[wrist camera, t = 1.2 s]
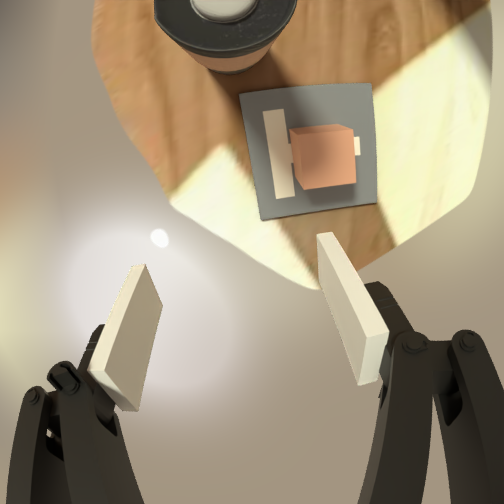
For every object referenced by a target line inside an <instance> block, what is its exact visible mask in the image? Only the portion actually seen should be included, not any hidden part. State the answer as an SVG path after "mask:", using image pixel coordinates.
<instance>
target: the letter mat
mask: <svg viewBox="0 0 504 504" xmlns="http://www.w3.org/2000/svg"><path fill="white" fill-rule="evenodd" d="M239 98H240V104H241V109H242V115H243V120H244V126H245V132H246V137H247V143H248V149H249V154H250V160H251V166H252V172H253V177H254V183H255V189H256V195H257V201H258V207H259V213H260V219H261V220H264V219H270V218H276V217H282V216H288V215H294V214H301V213H307V212H313V211H320V210H326V209H333V208H340V207H347V206H353V205H360V204H368V203H375V202H377V156H376V134H375V119H374V107H373V96H372V87H371V83H345V84H323V85H308V86H297V87H287V88H278V89H270V90H262V91H255V92H249V93H242V94H239ZM331 124H339V125H342V126H345V127H348V128H350V129H353V134H354V148H355V166H356V183H351V184H343V185H335V186H328V187H321V188H314V189H307V190H304V189H303V188H302V186H301V185H300V183H299V182H298V180H297V179H296V177H295V171H294V163H293V155H292V147H291V140H290V133H289V129H293V128H301V127H310V126H320V125H331Z"/></svg>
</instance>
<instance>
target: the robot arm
mask: <svg viewBox="0 0 504 504" xmlns="http://www.w3.org/2000/svg"><path fill="white" fill-rule="evenodd" d="M317 251H318V270H319V282H320V285H321V287H322V290H323V292H324V295H325V297H326V300H327V303H328V305H329V308H330V310H331V313H332V316H333V318H334V321H335V323H336V326H337V329H338V332H339V334H340V337H341V340H342V342H343V345H344V348H345V351H346V353H347V356H348V359H349V362H350V365H351V368H352V370H353V373H354V376H355V379H356V382H357V385H358V386H360V385H364V384H367V383H370V382H374V381H377V379H378V376H379V373H380V375H381V377H382V380H383V385H382V388H381V391H380V394H379V397H378V398H380V403H379V410H378V416H377V422H376V428H375V433H374V438H373V443H372V448H371V453H370V457H369V462H368V466H367V470H366V475H365V479H364V482H363V486H362V490H361V493H360V497H359V500H358V504H421V502H422V497H423V492H424V486H425V480H426V473H427V466H428V458H429V449H430V438H431V424H432V399H433V398H434V402H435V406H436V411H437V415H438V419H439V424H440V429H441V434H442V440H443V445H444V451H445V458H446V463H447V471H448V479H449V488H450V499H451V504H504V390H503V387H502V385H501V382H500V380H499V377H498V374H497V372H496V369H495V367H494V364H493V362H492V360H491V357H490V355H489V353H488V351H487V348H486V346H485V344H484V342H483V340H482V338H481V337H480V336H479V335H478V334H477V333H475V332H474V331H471V330H460V331H458V332H457V333H455V335H454V336H453V338H452V340H450V341H430V340H428V338H427V337H426V336H425V335H423V334H421V333H419V332H415V331H414V329H413V328H412V326H411V325H410V323H409V321H408V320H407V318H406V316H405V315H404V313H403V311H402V310H401V308H400V307H399V305H398V303H397V302H396V300H395V299H394V298H393V295H392V294H391V292H390V291H389V289H388V288H387V287H386V286H384V285H383V284H381V283H380V282H379V281H377V282H373V283H368V284H363V283H362V281H361V279H360V277H359V276H358V274H357V272H356V271H355V269H354V267H353V265H352V264H351V262H350V260H349V259H348V257H347V255H346V254H345V252H344V250H343V249H342V247H341V246H340V244H339V242H338V241H337V239H336V237H335V236H334V234H333V233H332V232H327V233H321V234H317ZM162 307H163V305H162V302H161V300H160V298H159V296H158V293H157V291H156V289H155V286H154V284H153V282H152V279H151V276H150V274H149V272H148V269H147V267H146V264H141V265H135V266H132V267H131V269H130V271H129V274H128V276H127V277H126V280H125V282H124V284H123V286H122V288H121V290H120V292H119V295H118V297H117V299H116V301H115V303H114V306H113V308H112V310H111V312H110V315H109V317H108V319H107V322H106V324H102V325H99V326H98V327H97V328H96V330H95V331H94V332H93V333H92V335H91V338H90V340H89V344H88V345H87V347H86V351H85V352H84V354H83V357H82V359H81V362H80V364H79V367H78V369H76V368H75V367H74V366H73V364H72V363H71V362H69V361H62V362H59V363H58V364H55V365H54V366H53V367H52V368H51V369H50V371H49V373H48V375H47V380H48V381H49V382H50V383H51V384H52V385H53V387H55V389H56V391H52V392H48V393H47V392H46V391H45V390H44V389H43V388H42V387H41V386H35V387H32V388H31V389H29V390H28V391H27V392H26V394H25V396H24V398H23V402H22V405H21V409H20V413H19V418H18V422H17V427H16V431H15V436H14V442H13V447H12V453H11V460H10V468H9V475H8V485H7V497H6V504H144V501H143V499H142V496H141V493H140V490H139V488H138V485H137V482H136V479H135V476H134V473H133V470H132V467H131V463H130V460H129V457H128V453H127V450H126V446H125V442H124V439H123V435H122V431H121V427H120V423H119V419H118V416H117V414H116V413H115V412H114V407H115V404H116V405H117V406H118V407H119V408H120V409H121V410H122V411H136V412H137V411H139V406H140V401H141V396H142V391H143V386H144V381H145V377H146V372H147V368H148V364H149V359H150V355H151V350H152V347H153V342H154V338H155V334H156V330H157V326H158V322H159V319H160V315H161V311H162ZM432 397H433V398H432ZM47 429H48V430H49V431H51V432H52V434H51V437H48V436H47V435H46V434H47Z"/></svg>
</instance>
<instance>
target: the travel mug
mask: <svg viewBox="0 0 504 504" xmlns="http://www.w3.org/2000/svg"><path fill="white" fill-rule="evenodd" d="M296 4H297V0H154V13H155V15H154V18H155V21H156V22H157V24H158V25H159V26H160V28H161V29H162V30H163V31H164V32H165V33H166V34H167V35H168V36H169V37H170V38H171V39H173V40H174V41H175V42H176V43H177V44H178V45H179V46H180V47H182V48H183V49H184V50H185V51H186V52H187V53H188V54H189V55H190V56H191V57H192V58H194V59H195V60H196V61H197V62H198V63H200V64H201V65H203V66H205V67H206V68H208V69H210V70H212V71H214V72H217V73H220V74H225V75H233V74H238V73H241V72H244V71H246V70H248V69H249V68H251V67H252V66H253V65H254V64H256V63H257V62H258V61H259V60H260V59H261V58H262V57H263V56H264V55H265V54H266V53H267V51H268V50H269V48H270V47H271V46H272V44H273V43H274V41H275V40H276V39H277V37H278V36H279V34H280V33H281V32H282V30H283V29H284V28H285V26H286V25H287V24H288V22H289V21H290V19H291V17H292V15H293V13H294V11H295V8H296Z"/></svg>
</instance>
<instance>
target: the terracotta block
mask: <svg viewBox="0 0 504 504" xmlns="http://www.w3.org/2000/svg"><path fill="white" fill-rule="evenodd" d="M289 133H290V140H291V147H292V155H293V163H294V171H295V177H296V179H297V180H298V182H299V183H300V185H301V186H302V188H303V189H304V190H307V189H314V188H321V187H328V186H335V185H343V184H351V183H356V166H355V148H354V134H353V129H350V128H348V127H345V126H342V125H339V124H331V125H320V126H310V127H301V128H293V129H289Z"/></svg>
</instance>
